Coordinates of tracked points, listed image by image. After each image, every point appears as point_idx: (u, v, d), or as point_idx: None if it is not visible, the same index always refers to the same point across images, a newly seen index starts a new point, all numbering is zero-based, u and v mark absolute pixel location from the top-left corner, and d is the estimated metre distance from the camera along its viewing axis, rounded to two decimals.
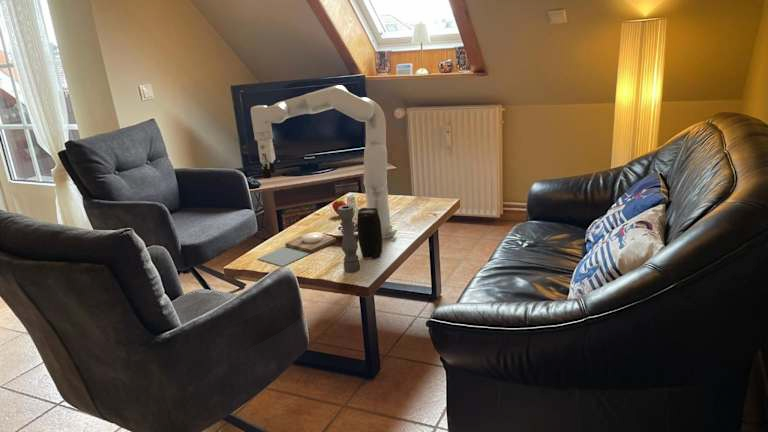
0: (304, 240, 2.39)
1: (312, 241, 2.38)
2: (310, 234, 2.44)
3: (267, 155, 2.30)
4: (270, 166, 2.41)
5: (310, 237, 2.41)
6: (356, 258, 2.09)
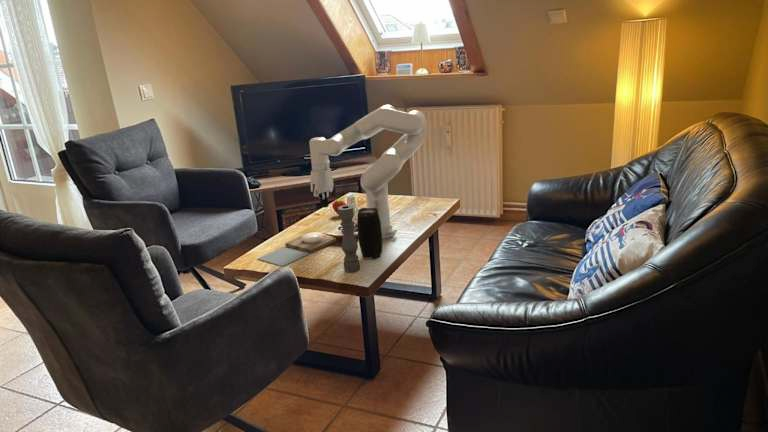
0: (304, 240, 2.39)
1: (312, 241, 2.38)
2: (310, 234, 2.44)
3: None
4: None
5: (310, 237, 2.41)
6: (356, 258, 2.09)
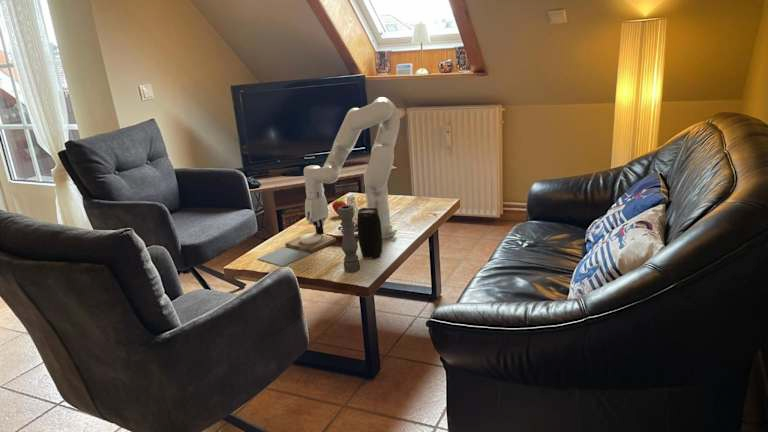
0: (302, 241, 2.38)
1: (310, 242, 2.37)
2: (308, 235, 2.43)
3: None
4: None
5: (308, 238, 2.40)
6: (356, 258, 2.09)
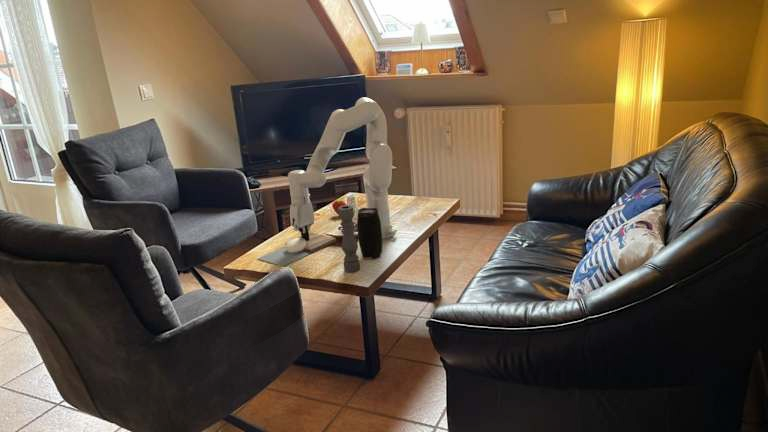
0: (287, 251, 2.33)
1: (295, 251, 2.31)
2: (293, 242, 2.36)
3: None
4: None
5: (293, 246, 2.33)
6: (356, 258, 2.09)
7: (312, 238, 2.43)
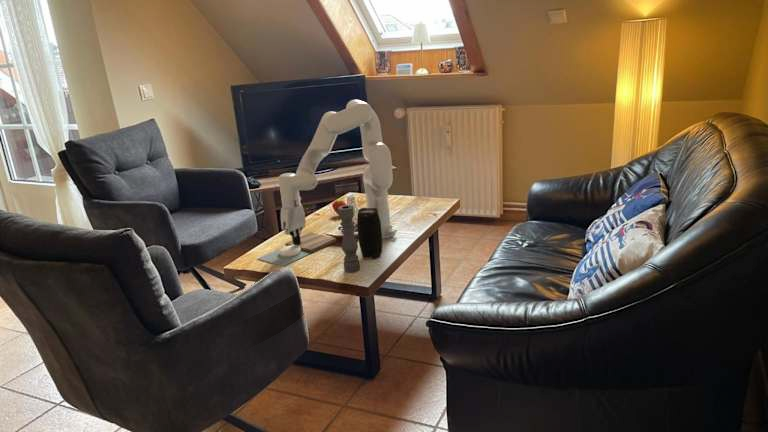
0: (280, 254, 2.30)
1: (289, 255, 2.29)
2: (287, 247, 2.34)
3: None
4: None
5: (287, 250, 2.31)
6: (356, 258, 2.09)
7: (312, 238, 2.43)
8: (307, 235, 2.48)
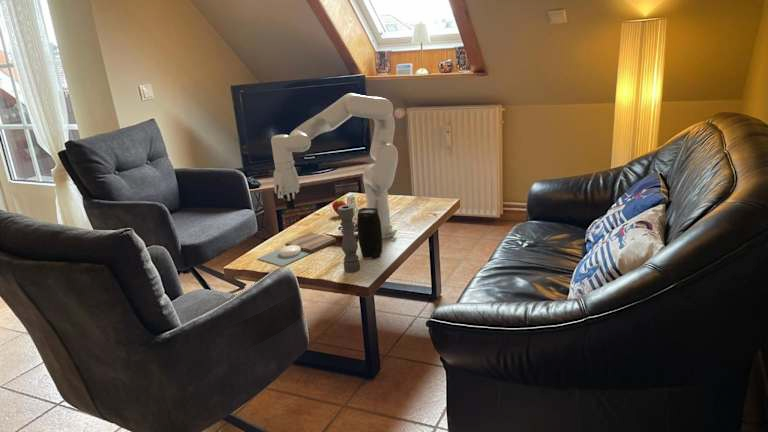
0: (280, 254, 2.30)
1: (289, 255, 2.29)
2: (287, 247, 2.34)
3: None
4: None
5: (287, 250, 2.31)
6: (356, 258, 2.09)
7: (312, 238, 2.43)
8: (307, 235, 2.48)
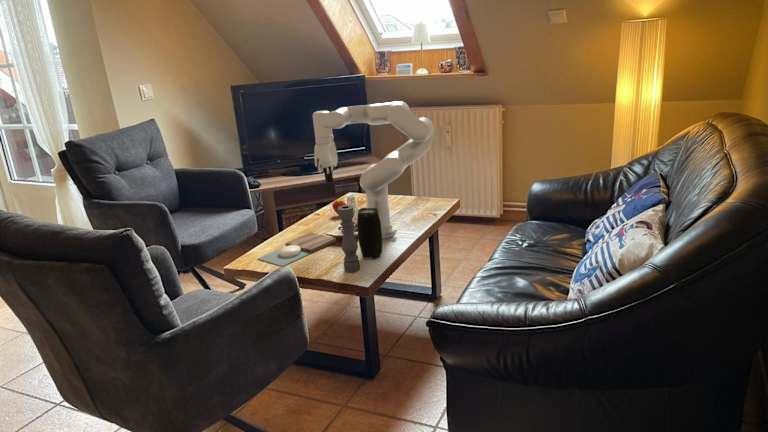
0: (280, 254, 2.30)
1: (288, 255, 2.29)
2: (287, 247, 2.34)
3: None
4: None
5: (287, 250, 2.31)
6: (356, 258, 2.09)
7: (312, 238, 2.43)
8: (307, 235, 2.48)
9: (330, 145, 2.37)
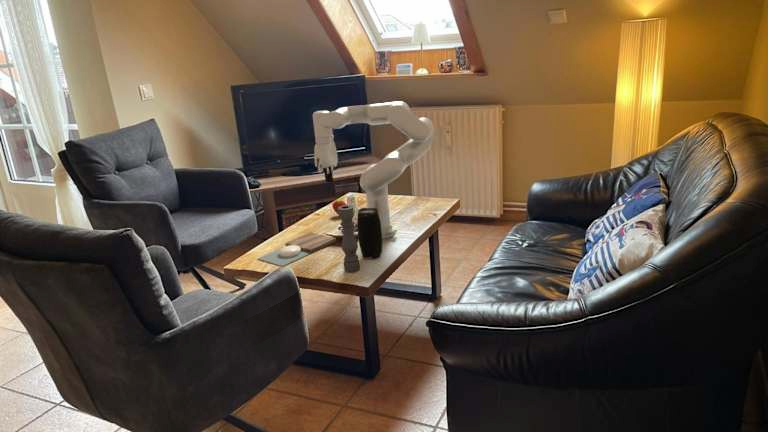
0: (280, 254, 2.30)
1: (288, 255, 2.29)
2: (287, 247, 2.34)
3: None
4: None
5: (287, 250, 2.31)
6: (356, 258, 2.09)
7: (312, 238, 2.43)
8: (307, 235, 2.48)
9: (330, 145, 2.37)
